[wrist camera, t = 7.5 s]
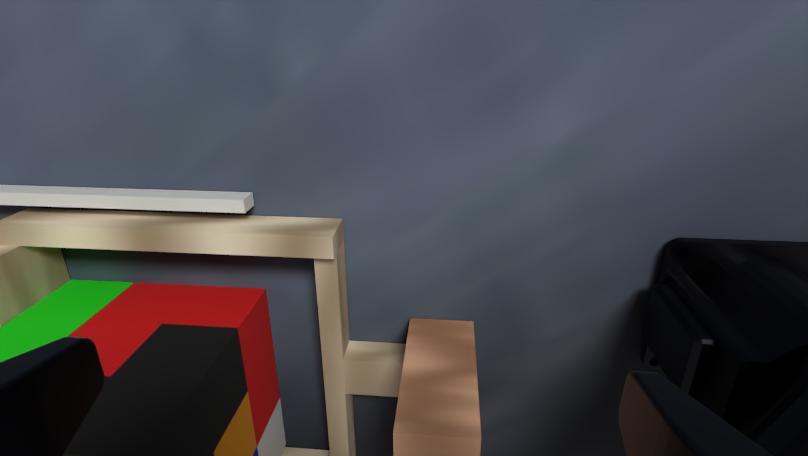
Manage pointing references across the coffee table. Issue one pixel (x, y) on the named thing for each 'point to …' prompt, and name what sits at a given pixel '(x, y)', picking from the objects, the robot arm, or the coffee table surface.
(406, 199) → the coffee table surface
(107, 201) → the frame
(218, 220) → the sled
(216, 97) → the coffee table surface
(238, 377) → the puzzle toy
